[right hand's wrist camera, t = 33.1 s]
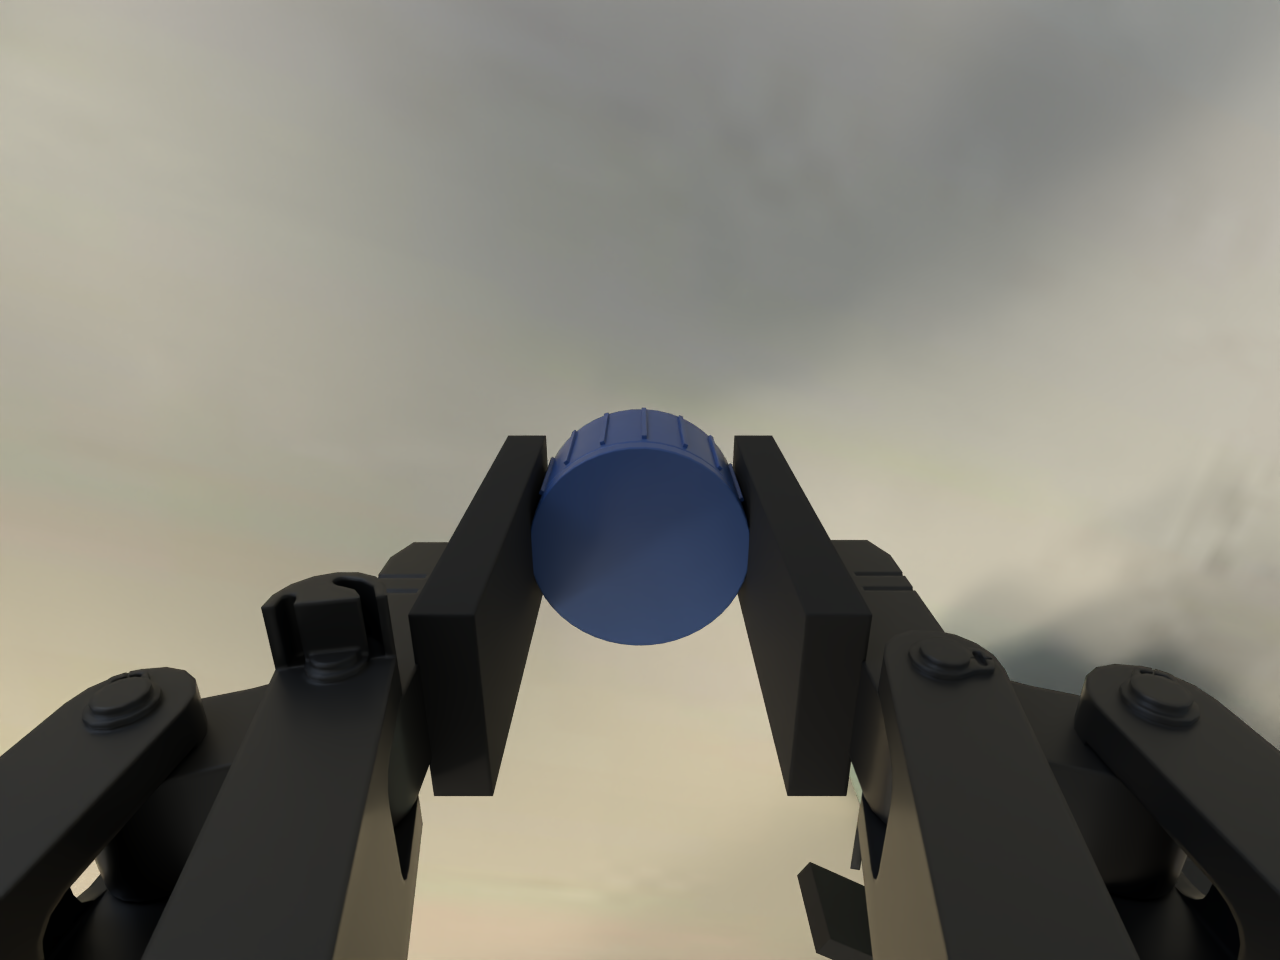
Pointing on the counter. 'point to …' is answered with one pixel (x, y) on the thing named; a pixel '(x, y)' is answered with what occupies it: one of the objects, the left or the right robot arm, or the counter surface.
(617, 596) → the cap
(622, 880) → the counter surface
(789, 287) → the counter surface
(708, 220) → the counter surface
